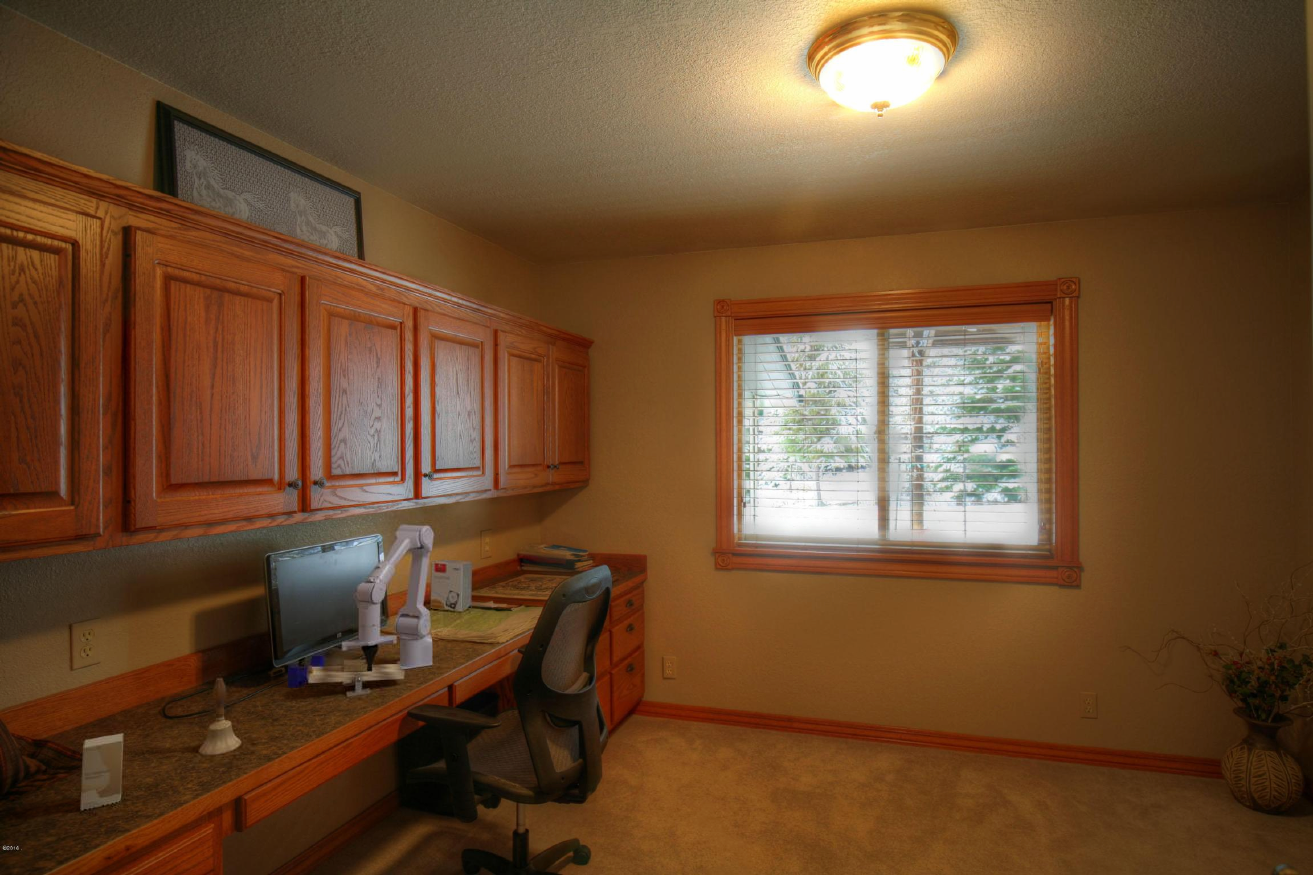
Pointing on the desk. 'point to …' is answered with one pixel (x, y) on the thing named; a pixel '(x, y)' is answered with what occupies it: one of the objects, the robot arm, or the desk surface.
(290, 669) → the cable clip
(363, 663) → the block
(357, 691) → the pivot stand
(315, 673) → the balance beam
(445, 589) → the hard drive box
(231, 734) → the hand bell
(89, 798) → the skincare box
